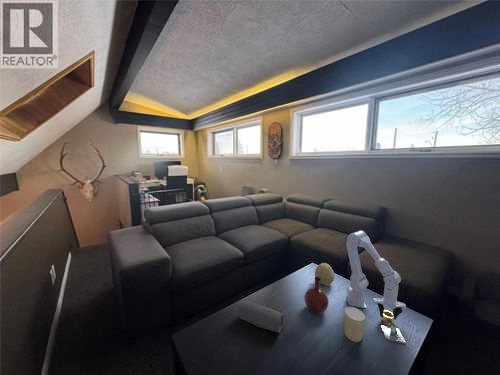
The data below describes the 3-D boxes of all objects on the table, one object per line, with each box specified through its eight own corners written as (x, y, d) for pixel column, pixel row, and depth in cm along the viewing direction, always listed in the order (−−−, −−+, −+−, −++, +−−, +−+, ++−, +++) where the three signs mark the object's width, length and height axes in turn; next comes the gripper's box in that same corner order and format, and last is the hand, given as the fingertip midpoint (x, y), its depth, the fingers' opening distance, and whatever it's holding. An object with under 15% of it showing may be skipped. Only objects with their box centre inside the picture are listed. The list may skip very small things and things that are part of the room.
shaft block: (386, 340, 95) (387, 332, 95) (380, 326, 103) (381, 319, 102) (405, 344, 93) (406, 335, 93) (397, 330, 101) (398, 322, 100)
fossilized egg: (331, 292, 129) (333, 271, 127) (312, 285, 136) (313, 265, 134) (335, 282, 140) (336, 262, 138) (317, 276, 147) (318, 257, 144)
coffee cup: (361, 329, 101) (363, 308, 99) (365, 346, 92) (367, 323, 91) (341, 324, 104) (343, 304, 102) (343, 340, 95) (345, 318, 94)
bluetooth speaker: (283, 325, 104) (283, 308, 102) (278, 340, 95) (278, 321, 94) (244, 311, 113) (244, 295, 112) (237, 323, 105) (236, 306, 103)
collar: (383, 322, 104) (384, 316, 104) (379, 314, 110) (380, 309, 109) (395, 324, 103) (396, 319, 103) (390, 316, 108) (391, 311, 108)
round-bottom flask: (302, 315, 110) (303, 282, 107) (305, 299, 123) (306, 270, 120) (327, 322, 106) (329, 288, 103) (327, 305, 118) (329, 274, 115)
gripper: (377, 297, 102) (374, 320, 104) (410, 302, 98) (406, 326, 100) (373, 288, 109) (370, 310, 111) (403, 293, 105) (400, 315, 107)
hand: (387, 317), depth 106 cm, fingers closed on collar, 5 cm apart
